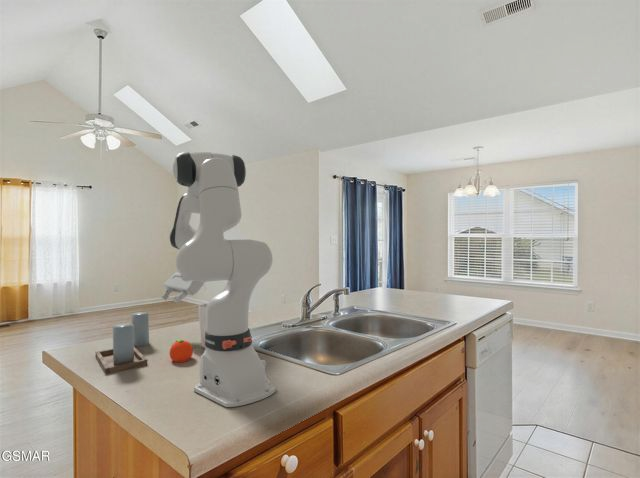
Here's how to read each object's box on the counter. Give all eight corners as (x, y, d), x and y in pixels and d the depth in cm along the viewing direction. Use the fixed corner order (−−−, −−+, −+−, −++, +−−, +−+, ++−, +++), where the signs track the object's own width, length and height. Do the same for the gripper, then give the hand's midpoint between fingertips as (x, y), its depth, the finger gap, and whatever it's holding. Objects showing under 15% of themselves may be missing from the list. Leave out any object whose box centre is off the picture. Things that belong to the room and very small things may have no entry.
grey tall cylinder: (136, 365, 109) (135, 325, 109) (115, 369, 106) (114, 329, 106) (131, 360, 114) (131, 322, 113) (111, 364, 110) (111, 325, 110)
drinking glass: (221, 343, 133) (221, 303, 132) (214, 349, 126) (214, 307, 126) (204, 343, 133) (203, 303, 133) (196, 349, 127) (195, 307, 126)
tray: (147, 368, 110) (147, 359, 110) (105, 377, 103) (105, 368, 103) (132, 352, 124) (132, 344, 124) (95, 359, 117) (95, 351, 117)
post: (150, 347, 130) (150, 313, 129) (134, 350, 126) (133, 316, 126) (146, 343, 134) (146, 311, 134) (130, 346, 131) (129, 313, 130)
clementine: (164, 361, 115) (164, 339, 115) (185, 356, 120) (185, 335, 120) (175, 368, 109) (175, 345, 109) (197, 362, 114) (196, 340, 114)
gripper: (174, 265, 150) (151, 292, 143) (200, 269, 137) (176, 298, 130) (184, 275, 154) (162, 301, 147) (211, 279, 140) (188, 308, 133)
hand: (169, 300), depth 138 cm, fingers open, 8 cm apart
